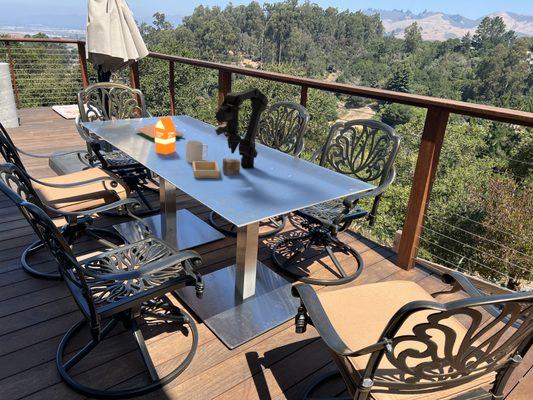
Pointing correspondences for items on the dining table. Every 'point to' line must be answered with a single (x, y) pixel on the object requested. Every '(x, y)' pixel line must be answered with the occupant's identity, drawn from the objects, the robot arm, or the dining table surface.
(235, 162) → the walnut box
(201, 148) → the mug
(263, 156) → the dining table surface
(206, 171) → the carton
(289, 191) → the dining table surface
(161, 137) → the orange juice
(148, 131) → the brown green flat box
